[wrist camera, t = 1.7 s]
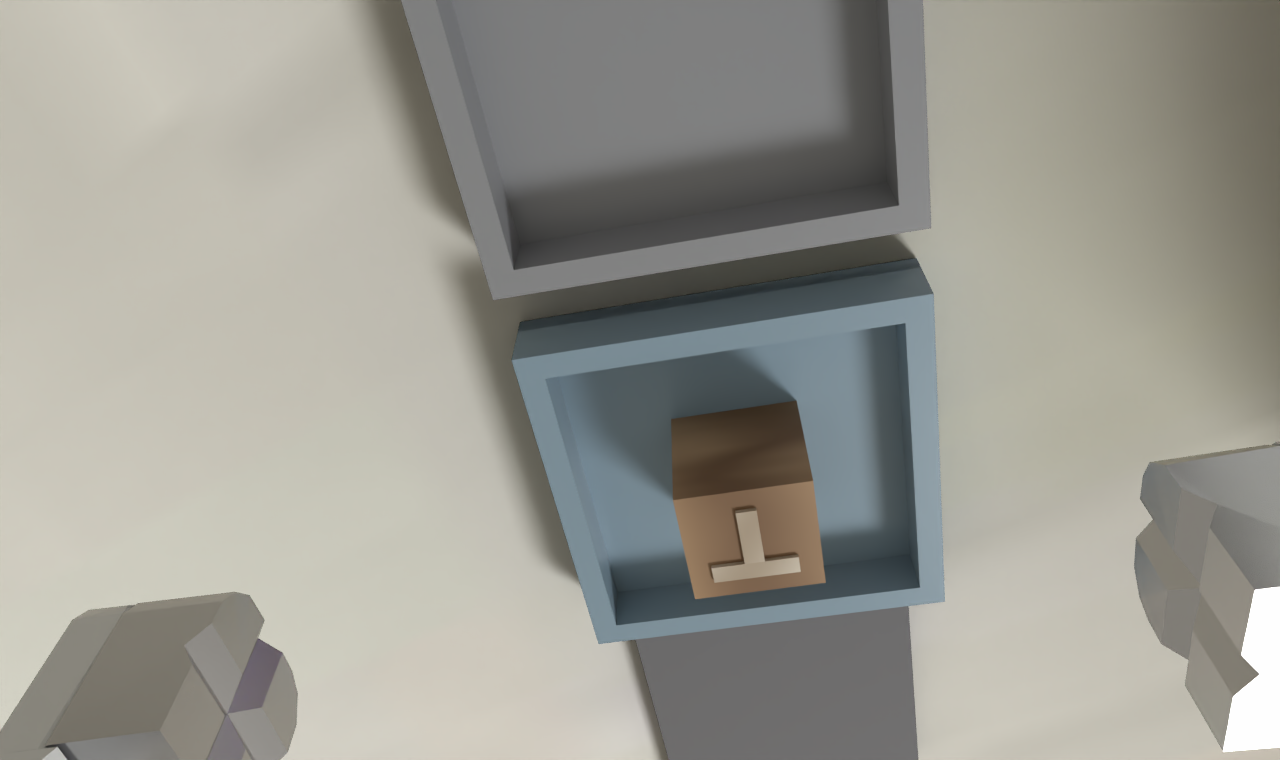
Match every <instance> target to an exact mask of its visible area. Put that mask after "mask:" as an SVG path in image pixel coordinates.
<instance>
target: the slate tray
mask: <svg viewBox="0 0 1280 760" xmlns="http://www.w3.org/2000/svg"><path fill="white" fill-rule="evenodd" d="M512 363H513V367H514V370H515V373H516V376H517V380H518V383H519V386H520V389H521V393H522V396H523V399H524V402H525V406H526V409H527V412H528V415H529V419H530V422H531V425H532V428H533V432H534V435H535V438H536V441H537V445H538V448H539V451H540V454H541V458H542V461H543V464H544V468H545V471H546V474H547V477H548V481H549V484H550V487H551V490H552V494H553V497H554V500H555V503H556V507H557V510H558V513H559V516H560V520H561V523H562V526H563V529H564V533H565V536H566V539H567V542H568V546H569V549H570V552H571V555H572V559H573V562H574V565H575V568H576V572H577V575H578V578H579V581H580V585H581V588H582V591H583V594H584V598H585V601H586V604H587V607H588V611H589V614H590V617H591V621H592V624H593V627H594V630H595V634H596V637H597V640H598V643H599V644H603V643H611V642H619V641H627V640H635V639H643V638H651V637H660V636H668V635H676V634H684V633H692V632H700V631H709V630H717V629H725V628H733V627H741V626H749V625H757V624H766V623H774V622H782V621H790V620H798V619H806V618H814V617H823V616H831V615H839V614H847V613H855V612H863V611H872V610H880V609H888V608H896V607H904V606H912V605H920V604H929V603H937V602H945V592H944V565H943V538H942V510H941V483H940V456H939V428H938V401H937V374H936V347H935V319H934V294H933V292H932V290H931V287H930V285H929V283H928V281H927V279H926V277H925V275H924V273H923V271H922V269H921V267H920V265H919V263H918V261H917V258H914V259H908V260H901V261H895V262H889V263H883V264H877V265H870V266H864V267H858V268H852V269H846V270H839V271H833V272H827V273H821V274H815V275H808V276H802V277H796V278H790V279H784V280H777V281H771V282H765V283H759V284H753V285H746V286H740V287H734V288H728V289H722V290H716V291H709V292H703V293H697V294H691V295H685V296H678V297H672V298H666V299H660V300H654V301H647V302H641V303H635V304H629V305H623V306H616V307H610V308H604V309H598V310H592V311H585V312H579V313H573V314H567V315H561V316H554V317H548V318H542V319H536V320H530V321H524V322H520V325H519V329H518V334H517V338H516V342H515V347H514V351H513V356H512ZM790 401H797V405H798V410H799V414H800V419H801V424H802V429H803V434H804V439H805V444H806V448H807V453H808V458H809V463H810V468H811V473H812V478H813V483H814V491H815V499H816V508H817V516H818V524H819V532H820V540H821V548H822V556H823V564H824V572H825V580H826V583H820V584H812V585H804V586H796V587H788V588H780V589H772V590H764V591H757V592H749V593H741V594H733V595H725V596H717V597H709V598H701V599H695V597H694V592H693V588H692V583H691V579H690V574H689V570H688V566H687V561H686V557H685V552H684V548H683V543H682V539H681V534H680V530H679V525H678V521H677V517H676V512H675V508H674V503H673V484H672V436H671V419H675V418H681V417H688V416H695V415H702V414H708V413H715V412H722V411H729V410H736V409H742V408H749V407H756V406H763V405H769V404H776V403H783V402H790Z"/></svg>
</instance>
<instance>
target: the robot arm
mask: <svg viewBox="0 0 1280 760" xmlns="http://www.w3.org/2000/svg"><path fill="white" fill-rule="evenodd" d="M1140 499H1141V501H1142V503H1143V504H1144V506H1145V507H1146V509H1147V510H1148V512H1149V514H1150V515H1151V517H1152V518H1153V520H1152V521H1151V522H1150V523H1149V524H1148V526H1147V527H1146V528H1145V529H1144V530H1143V531H1142V532H1141V533H1140V534H1139V535H1138V536H1137V537H1136V547H1135V563H1134V568H1135V574H1136V580H1137V585H1138V591H1139V597H1140V600H1141V602H1142V605H1143V608H1144V610H1145V613H1146V616H1147V618H1148V621H1149V623H1150V624H1151V626H1152V628H1153V630H1154V632H1155V633H1156V635H1157V637H1158V639H1159V641H1160V643H1161V644H1162V645H1164V646H1166V647H1168V648H1169V649H1171V650H1173V651H1174V652H1176V653H1178V654H1179V655H1181V656H1183V657H1184V658H1186V659H1188V667H1187V674H1186V681H1185V687H1186V688H1187V690H1188V692H1189V693H1190V695H1191V697H1192V699H1193V700H1194V702H1195V704H1196V705H1197V707H1198V709H1199V711H1200V712H1201V714H1202V716H1203V717H1204V719H1205V721H1206V723H1207V724H1208V726H1209V728H1210V730H1211V731H1212V733H1213V735H1214V736H1215V738H1216V740H1217V742H1218V743H1219V745H1220V747H1221V748H1222V750H1223V752H1227V751H1238V750H1250V749H1261V748H1272V747H1280V442H1275V443H1274V444H1272V445H1262V446H1256V447H1249V448H1242V449H1235V450H1229V451H1222V452H1215V453H1209V454H1202V455H1195V456H1188V457H1182V458H1175V459H1168V460H1161V461H1155V462H1150V463H1149V465H1148V467H1147V469H1146V471H1145V473H1144V475H1143V480H1142V488H1141V496H1140ZM263 623H264V618H263V617H262V615H261V613H260V612H259V610H258V608H257V607H256V605H255V603H254V602H253V600H252V599H251V597H250V595H246V594H242V593H237V592H230V593H221V594H213V595H204V596H196V597H187V598H178V599H170V600H161V601H153V602H144V603H138V604H136V605H128V606H119V607H110V608H102V609H93V610H88V611H86V612H85V613H83V614H81V615H80V616H78V617H76V618H75V619H73V620H72V621H71V623H70V624H69V626H68V627H67V629H66V630H65V632H64V634H63V635H62V637H61V638H60V640H59V641H58V643H57V644H56V646H55V647H54V649H53V651H52V652H51V654H50V655H49V657H48V658H47V660H46V661H45V663H44V664H43V666H42V668H41V669H40V671H39V672H38V674H37V675H36V677H35V678H34V680H33V681H32V683H31V685H30V686H29V688H28V689H27V691H26V692H25V694H24V695H23V697H22V698H21V700H20V702H19V703H18V705H17V706H16V708H15V709H14V711H13V712H12V714H11V715H10V717H9V719H8V720H7V722H6V723H5V725H4V726H3V728H2V729H1V731H0V760H280V759H281V758H282V757H283V756H284V755H285V754H286V753H287V752H288V750H289V747H290V743H291V740H292V737H293V734H294V731H295V728H296V722H297V698H298V693H297V689H296V685H295V681H294V677H293V673H292V670H291V668H290V666H289V664H288V662H287V660H286V658H285V656H284V655H283V653H282V652H280V651H279V650H277V649H275V648H274V647H272V646H270V645H269V644H267V643H265V642H263V641H262V640H260V639H258V637H259V635H260V632H261V629H262V626H263Z"/></svg>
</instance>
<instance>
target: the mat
mask: <svg viewBox="0 0 1280 760" xmlns="http://www.w3.org/2000/svg"><path fill="white" fill-rule="evenodd" d="M635 640H636V644H637V647H638V651H639V654H640V658H641V662H642V665H643V669H644V672H645V676H646V680H647V683H648V687H649V690H650V694H651V698H652V701H653V705H654V708H655V712H656V716H657V719H658V723H659V726H660V730H661V734H662V737H663V741H664V744H665V748H666V752H667V755H668V759H669V760H918V748H917V733H916V717H915V702H914V686H913V671H912V655H911V639H910V624H909V608H908V606H904V607H896V608H888V609H880V610H872V611H863V612H855V613H847V614H839V615H831V616H823V617H814V618H806V619H798V620H790V621H782V622H774V623H766V624H757V625H749V626H741V627H733V628H725V629H717V630H709V631H700V632H692V633H684V634H676V635H668V636H660V637H651V638H643V639H635Z"/></svg>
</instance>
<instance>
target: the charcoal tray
mask: <svg viewBox="0 0 1280 760" xmlns="http://www.w3.org/2000/svg"><path fill="white" fill-rule="evenodd" d="M401 2H402V5H403V9H404V12H405V15H406V18H407V22H408V25H409V28H410V31H411V35H412V38H413V41H414V44H415V48H416V51H417V54H418V57H419V61H420V64H421V67H422V70H423V74H424V77H425V80H426V83H427V87H428V90H429V93H430V96H431V100H432V103H433V106H434V109H435V113H436V116H437V119H438V122H439V126H440V129H441V132H442V135H443V139H444V142H445V145H446V148H447V152H448V155H449V158H450V162H451V165H452V168H453V171H454V175H455V178H456V181H457V184H458V188H459V191H460V194H461V197H462V201H463V204H464V207H465V210H466V214H467V217H468V220H469V223H470V227H471V230H472V233H473V236H474V240H475V243H476V246H477V249H478V253H479V256H480V259H481V262H482V266H483V269H484V272H485V275H486V279H487V282H488V285H489V288H490V292H491V295H492V298H493V300H497V299H503V298H509V297H515V296H521V295H528V294H534V293H540V292H546V291H552V290H558V289H564V288H570V287H576V286H582V285H588V284H594V283H601V282H607V281H613V280H619V279H625V278H631V277H637V276H643V275H649V274H655V273H661V272H667V271H673V270H680V269H686V268H692V267H698V266H704V265H710V264H716V263H722V262H728V261H734V260H740V259H746V258H752V257H759V256H765V255H771V254H777V253H783V252H789V251H795V250H801V249H807V248H813V247H819V246H825V245H831V244H838V243H844V242H850V241H856V240H862V239H868V238H874V237H880V236H886V235H892V234H898V233H904V232H911V231H917V230H923V229H929V228H931V210H930V183H929V156H928V128H927V101H926V74H925V47H924V19H923V0H401Z"/></svg>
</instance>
